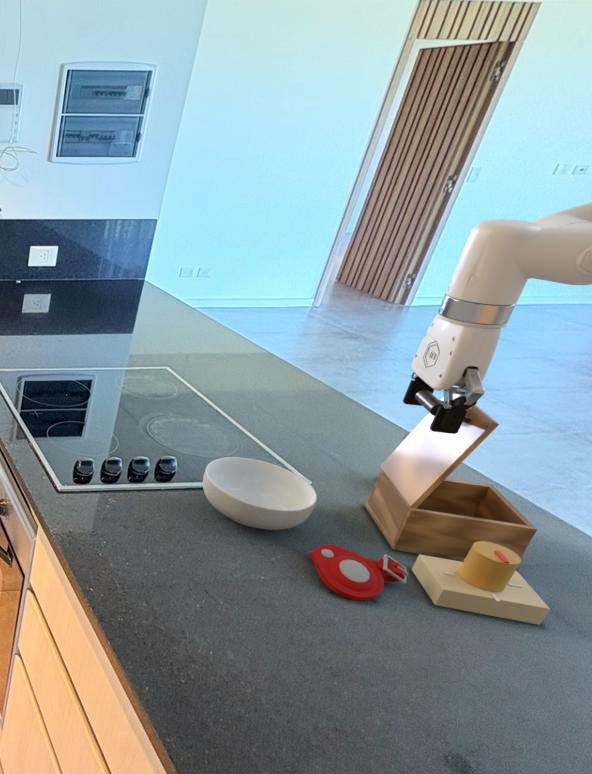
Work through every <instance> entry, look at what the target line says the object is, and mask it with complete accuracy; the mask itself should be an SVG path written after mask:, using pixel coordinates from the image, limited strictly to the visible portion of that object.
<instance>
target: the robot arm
mask: <svg viewBox="0 0 592 774" xmlns="http://www.w3.org/2000/svg"><path fill="white" fill-rule="evenodd" d="M530 279H534V280H540V281H546V282H547V281H548V282H551V283H557V284H563V285H570V286H591V285H592V201H590V202H588V203H584V204H581V205H576V206H574V207H570V208H567V209H563V210H560V211H559V210H558V211H557V212H553V213H551V214H548V215H545V216H542V217H540V218H538V219H536V220H534V221H527V220H520V219H504V218H503V219H501V218H500V219H486V220H482V221H480V222H478V223H476V224H475V225H474V226H473V227H472V229H471V231H470V233H469V235H468V237H467V240H466V242H465V245H464V247H463V249H462V252H461V255H460V257H459V259H458V262H457V263H456V266H455V268H454V272H453V274H452V277H451V279H450V281H449V284H448V286H447V289H446V291H445V294H444V296H443V299H442V301H441V303H440V305H439V308H438V310H437V313H436V315H435V317H434V318H433V320H432V322H431V323H430V325H429V327H428V328H427V330H426V332H425V334H424V336H423V338H422V340H421V342H420V344H419V346H418V348H417V350H416V353H415V355H414V357H413V360H412V362H411V363H410V364H411V365H410V368H411V371H412V373H411V376H410V377H411V380H410V382H409V384H408V386H407V389H406V391H405V394H404V397H403V399H402V403H403V404H404V405H408V406H409V405H411V406H419V407H423V406H422V405H421V404H420V403H419V402H418V401H417V400H416V399H415V395H416V393H417V392H419V391H421V390H427V391H429V392H431V393H432V394H433V395H434V391H438V392H440V391H443V396H444V406H439V408H438V410H437V412H436V415H435V417H434V419H433V422H432V424H431V426H430V429H431V430H432V431H433V432H442V433H451V434H456V433H457V432H458V431H459V428H460V426H461V424H462V422H463V420H464V418H465V415H466V413H467V411H470V410H471V408H472V406H474V405H477V403H478V401H479V400H480V399H481V397H483V396H484V395H485V392H486V391H485V387H484V385H483V381H484V379H485V377H486V375H487V373H488V370H489V368H490V366H491V363H492V360H493V358H494V355H495V352H496V350H497V346H498V343H499V341H500V340H499V339H500V336H501V332H502V329H503V328H506V327H507V325H508V322H509V321H510V319H511V316H512V314H513V312H514V309H515V307H516V305H517V303H518V301H519V299H520V297H521V294H522V293H523V290H524V288H525V286H526V283H527V281H528V280H530ZM453 393H454V394H462V396H459V397H457V398H456V399H454V400H453Z"/></svg>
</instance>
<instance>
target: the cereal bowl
mask: <svg viewBox="0 0 592 774" xmlns="http://www.w3.org/2000/svg"><path fill="white" fill-rule="evenodd" d="M202 477H203V478H202V489H203V492H204V493H203V494H204V495H205V497H206V499H207V500H208V502H209V503H210V504H211V506H212V507H213V508H215V509H216V510H217V511H218V512H219V513H221V514H222V515H224V516H225V517H226V518H229V519H231V521H234V522H235V523H238V524H240V525H242V526H246V527H249V528H255V529H261V530H266V531H267V530H270V531H274V530H275V531H278V530H286V529H291V528H294V527H297V526H299V525H300V524H303V523H304V522H305V521H306V520H307V519H308V518H309V517H310V515H311V514H312V513H313V511H314V509H315V507H316V504H317V502H318V496H317V492H316V490H315V489H314V487H313V486H312V485H311V484H310V483H309V482H308V481H306V479H304V478H303V477H301V476H300V475H298V474H297V473H296V472H295V473H294V472H293V471H291V470H289V469H287V468H284V467H282V466H280V465H276V464H273V463H271V462H267V461H263V460H259V459H255V458H247V457H238V456H227V457H220V458H216V459H214V460H212V461H210V462H209V463H208V464H207V465H206V468H205V471H204V474H203V476H202Z"/></svg>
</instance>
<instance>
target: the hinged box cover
mask: <svg viewBox="0 0 592 774" xmlns="http://www.w3.org/2000/svg"><path fill="white" fill-rule="evenodd" d="M459 396H462V394H454V393H453V400H454V399H456V398H457V397H459ZM415 399H416V400H417V401H418V402H419V403H420V404H421V405H422V406H421V407H423V408H424V409H425V410H426V411H427V412H428V413H426V415H425V416H424V417H423V418H422V419H421V421H419V423H417V425H416V426H415V427H414V428H413V429H412V430H411V431H410V432H411V433H410V432H409V433H410V434H409V435H408V436H407V437H406V438H405V439H404V440H403V439H402V440H403V441H402V440H401V443H400V444H399V445H398V446H396V448H395V449H394V450H393V451H392V452H391V453H390V454H389V456H388V457H387V458H386V459H384V461H382V463H381V464H380V465H379V468H381V470H383V471H384V472H385V474H386V475H387V476H388V478H389V479H390V480H391V482H392V483H393V484H394V486H395V487H396V488H397V490H398V491H399V492H400V494H401V495H402V496H403V497H404V499H405V500H406V501H407V503H408V504H409V505H410V507H413V508H415V509H416V508H417V507H418V506H419V505H420V504H421V503H422V502H423V501H424V500H425V499H426V498H427V497H428V496H429V495H430V494H431V493H432V492H433V491H434V490H435V489H436V488H437V487H438V486H439V485H440V484H441V483H442V482H443V481H444V480H445V479H448V477H449V476H450V475H451V474H452V473H453V472H454V471H455V470H456V469H457V468H458V466H460V465H461V464H462V463H463V462H464V461H465V460H466V459H467V458H468V457H469V456H470V454H472V453H473V452H474V450H476V449H477V448H478V447H479V446H480V445H481V444H482V443H483V442H484V441H485V440H486V439H487V438H488V437H489V436H490V435H491V433H493V432H494V431H495V430H496V429H497V428H498V427H499V426H500V423H498V421H496V420H495V419H494V418H493V417H491V416H490V415H489V414H487V413H486V412H485V411H483V409H482V408H480V407H479V406H478V405H477V404H475V405H474V406H472V408H471V410H470V411H467V413H466V415H465V418H464V420H463V422H462V424H461V426H460V428H459V431H458V432H457V433H456V434H451V433H442V432H433V431H432V430H431V429H430V426H431V424H432V422H433V419H434V417H435V415H436V412H437V410H438V408H439V406H444V395H443V396H442V397H441V398H440V399H439V398H437V397H436V395H434V393H433V394H432V393H431V392H429V391H427V390H421V391H419V392H417V393H416V395H415Z"/></svg>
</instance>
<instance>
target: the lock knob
mask: <svg viewBox="0 0 592 774" xmlns="http://www.w3.org/2000/svg"><path fill="white" fill-rule="evenodd" d="M462 562H463V561H462ZM521 562H522V559H521V558H520V557H519V556H518V555H517V554H516V553H515V552H513V551H511V550H510V549H508V548H506V547H503V546H501V545H498V544H495V543H491V542H486V541H478V542H475V543H474V544H473V545H472V547H471V549H470V551H469V553H468V555H467V556H466V558H465V560H464V562H463V564H462V566H461V567H460V569H459V575H460V576H461V578H463V579H464V580H465V581H466V582H468V583H470V584H471V585H473V586H475V587H478V588H480V589H483V590H487V591H492V592H500V591H503V590H504V589H505V587H506V586H507V584H508V582H509V581H510V579H511V577H512V576H513V574H514V572H515V571H517V569H518V567H519V566H520V564H521Z"/></svg>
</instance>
